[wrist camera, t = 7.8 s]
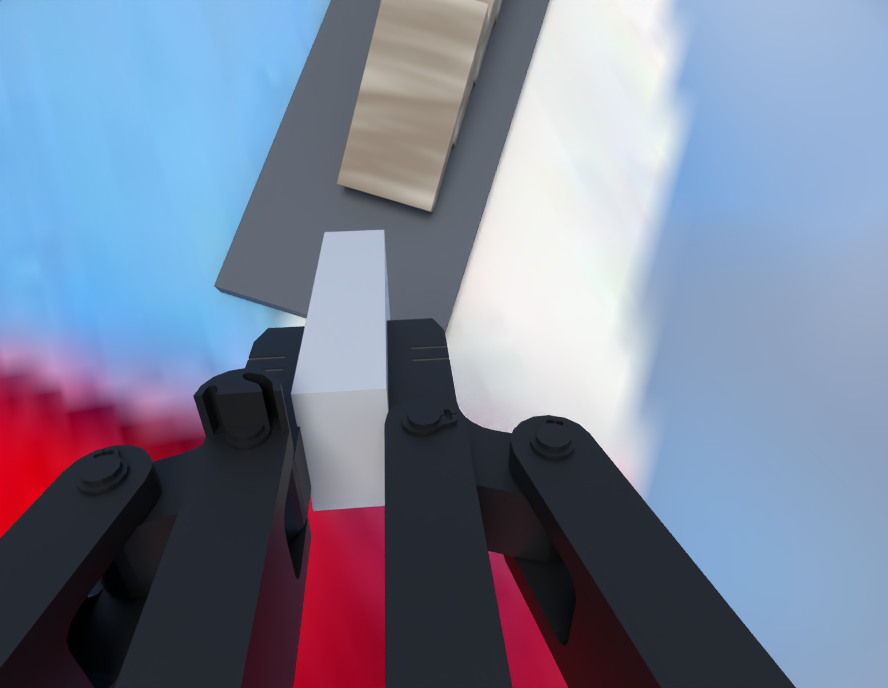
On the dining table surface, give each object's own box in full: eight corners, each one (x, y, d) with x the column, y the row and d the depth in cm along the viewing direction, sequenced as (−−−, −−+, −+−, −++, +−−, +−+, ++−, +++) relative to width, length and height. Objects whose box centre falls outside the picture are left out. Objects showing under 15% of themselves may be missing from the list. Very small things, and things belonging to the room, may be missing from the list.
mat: (436, 358, 30) (437, 354, 29) (220, 291, 31) (214, 285, 30) (575, -86, 37) (580, -101, 36) (395, -139, 37) (394, -155, 36)
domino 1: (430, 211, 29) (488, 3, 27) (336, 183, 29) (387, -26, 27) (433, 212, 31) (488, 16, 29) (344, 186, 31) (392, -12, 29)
